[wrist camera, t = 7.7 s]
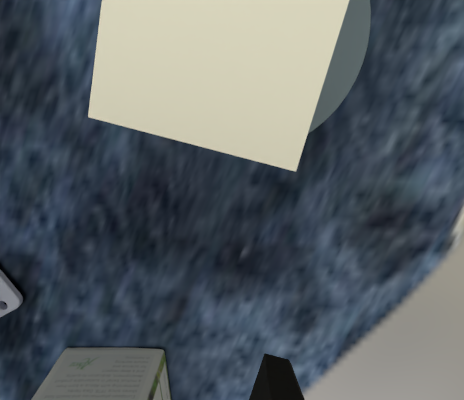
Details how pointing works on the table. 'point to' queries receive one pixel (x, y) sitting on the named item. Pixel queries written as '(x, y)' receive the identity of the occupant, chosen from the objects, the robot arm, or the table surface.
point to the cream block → (216, 71)
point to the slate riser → (344, 60)
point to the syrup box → (107, 375)
